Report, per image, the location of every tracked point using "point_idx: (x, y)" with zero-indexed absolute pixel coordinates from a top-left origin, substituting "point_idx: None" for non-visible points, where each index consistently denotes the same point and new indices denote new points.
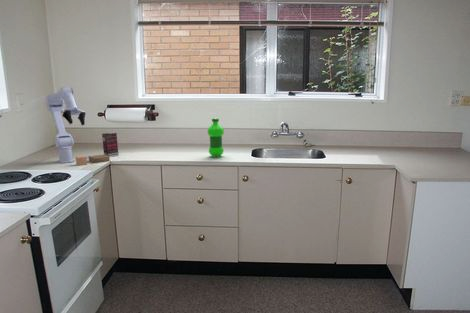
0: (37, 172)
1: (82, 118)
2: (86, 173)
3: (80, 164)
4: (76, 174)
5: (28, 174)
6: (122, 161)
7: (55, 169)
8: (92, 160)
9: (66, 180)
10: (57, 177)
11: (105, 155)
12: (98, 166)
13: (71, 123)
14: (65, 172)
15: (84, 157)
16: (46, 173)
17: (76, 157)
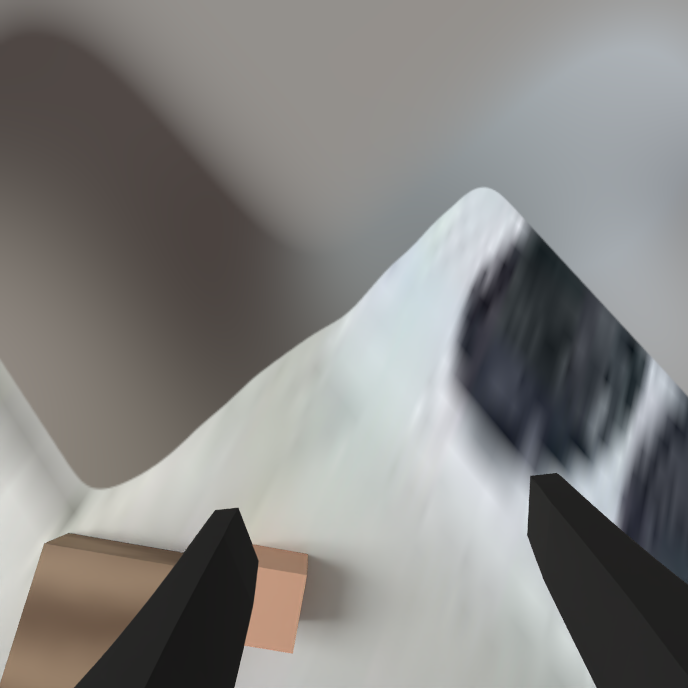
0: None
1: (174, 662)
2: (384, 287)
3: (295, 554)
4: (433, 309)
5: None
6: (25, 435)
7: (467, 560)
8: None
9: (520, 225)
10: (531, 323)
11: (30, 620)
12: (235, 413)
13: (534, 508)
14: (456, 411)
15: None
16: None
17: (297, 626)
